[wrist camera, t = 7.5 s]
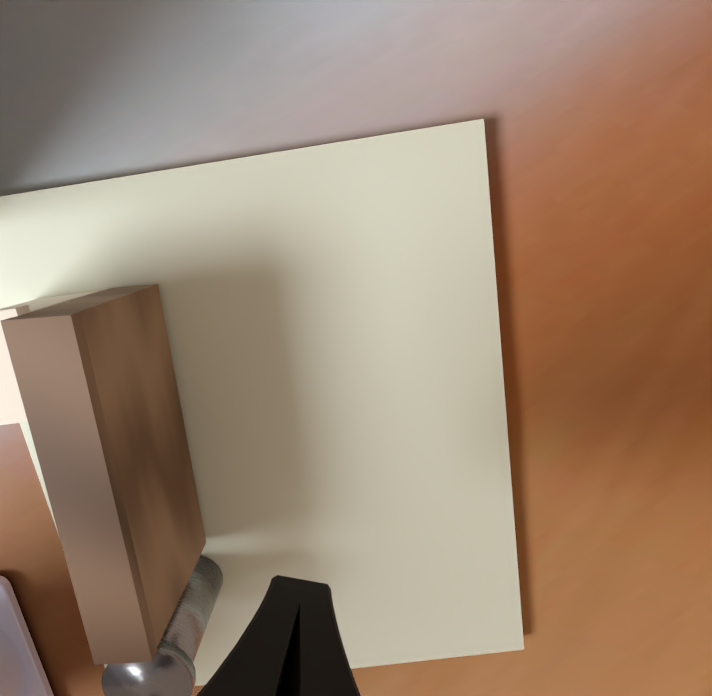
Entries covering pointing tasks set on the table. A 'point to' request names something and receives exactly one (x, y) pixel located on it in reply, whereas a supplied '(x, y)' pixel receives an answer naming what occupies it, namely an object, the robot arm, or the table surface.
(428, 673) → the table surface
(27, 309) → the cream upright block
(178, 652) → the post
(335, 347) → the board
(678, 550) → the table surface
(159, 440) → the brown wooden block
